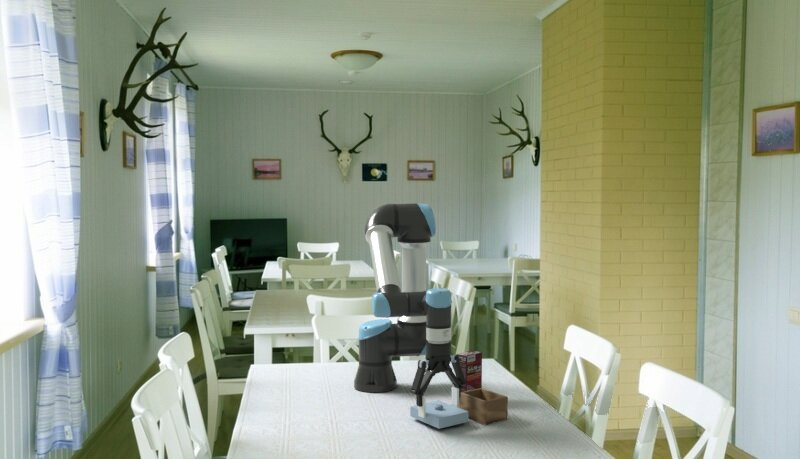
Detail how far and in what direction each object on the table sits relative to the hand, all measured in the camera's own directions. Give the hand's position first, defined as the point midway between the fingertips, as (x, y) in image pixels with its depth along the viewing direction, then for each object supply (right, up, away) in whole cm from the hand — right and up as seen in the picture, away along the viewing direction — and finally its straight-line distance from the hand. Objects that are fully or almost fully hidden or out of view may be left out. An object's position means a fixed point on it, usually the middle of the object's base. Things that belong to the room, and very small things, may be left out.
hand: (438, 412), depth 214 cm
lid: (0, -3, 0) cm, 3 cm away
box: (+14, -3, +5) cm, 15 cm away
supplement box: (+11, -2, +23) cm, 25 cm away
